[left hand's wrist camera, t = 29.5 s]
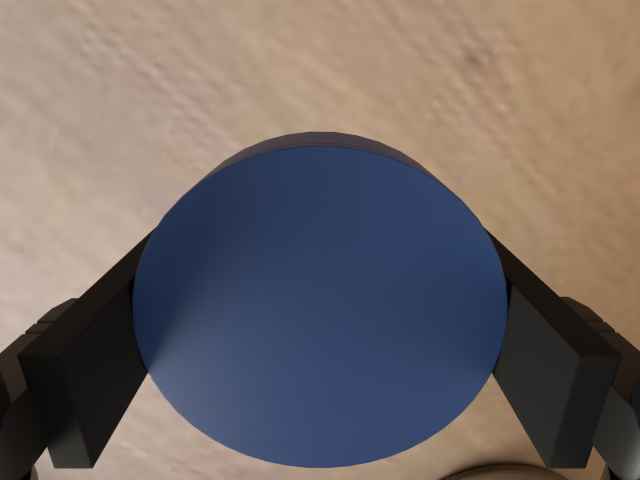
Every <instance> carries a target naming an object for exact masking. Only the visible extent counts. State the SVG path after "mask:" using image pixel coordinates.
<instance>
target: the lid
mask: <svg viewBox="0 0 640 480" xmlns="http://www.w3.org/2000/svg"><path fill="white" fill-rule="evenodd" d="M507 314H508V298H507V288H506V280H505V276H504V273H503V269H502V265H501V261H500V258H499V256H498V254H497V252H496V249H495V247H494V245H493V242H492V240H491V238H490V237H489V235H488V234H487V232H486V230H485V229H484V227H483V226H482V224H481V223H480V221H479V219H478V218H477V217H476V216H475V215H474V214H473V212H472V211H471V210H470V209H469V208H468V207H467V206H466V204H465V203H464V202H463V201H462V200H461V199H460V198H459V197H458V196H456V195H455V194H454V193H453V192H452V191H451V190H449V189H448V188H447V187H446V186H445V185H444V184H443V183H441V182H440V181H439V180H438V179H437V178H436V177H435V176H433V175H432V174H431V173H430V172H429V171H427V170H426V169H425V168H424V167H423V166H422V165H420V164H419V163H418V162H416V161H415V160H413V159H411V158H410V157H408V156H407V155H405V154H403V153H402V152H400V151H398V150H396V149H394V148H392V147H389V146H387V145H385V144H383V143H380V142H378V141H374V140H371V139H367V138H364V137H361V136H357V135H350V134H344V133H337V132H304V133H296V134H288V135H284V136H280V137H276V138H272V139H269V140H265V141H263V142H260V143H258V144H255V145H253V146H250V147H248V148H246V149H244V150H242V151H240V152H238V153H237V154H235V155H233V156H232V157H230V158H228V159H227V160H225V161H224V162H222V163H221V164H220V165H219V166H217V167H216V168H215V169H214V170H212V171H211V172H210V173H209V174H207V175H206V176H205V177H204V178H203V179H202V180H201V181H199V182H198V183H197V184H196V185H195V186H194V187H192V188H191V189H190V190H189V191H188V192H187V193H186V194H184V195H183V196H182V197H181V198H180V199H179V200H178V201H177V203H176V204H175V205H174V206H173V207H172V208H171V209H170V210H169V211H168V212H167V213H166V214H165V216H164V217H163V218H162V220H161V221H160V223H159V224H158V226H157V227H156V229H155V230H154V232H153V233H152V235H151V236H150V239H149V241H148V243H147V245H146V247H145V249H144V251H143V253H142V255H141V258H140V262H139V265H138V269H137V272H136V276H135V280H134V288H133V296H132V316H133V325H134V330H135V335H136V340H137V345H138V348H139V351H140V354H141V357H142V360H143V363H144V365H145V366H146V368H147V370H148V372H149V374H150V376H151V378H152V380H153V382H154V383H155V385H156V386H157V388H158V389H159V390H160V392H161V393H162V395H163V396H164V398H165V399H166V400H167V401H168V402H169V403H170V404H171V405H172V406H173V408H174V409H175V410H176V411H177V412H178V413H179V414H180V415H181V416H182V417H184V418H185V419H186V420H187V421H188V422H189V423H190V424H192V425H193V426H194V427H195V428H197V429H198V430H200V431H201V432H203V433H204V434H206V435H207V436H208V437H210V438H212V439H213V440H215V441H217V442H219V443H221V444H223V445H224V446H226V447H228V448H231V449H233V450H235V451H238V452H240V453H242V454H245V455H247V456H251V457H254V458H257V459H260V460H264V461H267V462H272V463H277V464H282V465H287V466H297V467H306V468H332V467H344V466H352V465H357V464H363V463H368V462H372V461H376V460H379V459H383V458H386V457H390V456H392V455H395V454H397V453H400V452H402V451H405V450H407V449H409V448H411V447H413V446H415V445H417V444H419V443H421V442H423V441H425V440H427V439H428V438H430V437H431V436H433V435H434V434H436V433H437V432H439V431H440V430H442V429H443V428H445V427H446V426H447V425H448V424H449V423H450V422H452V421H453V420H454V419H455V418H456V417H458V416H459V415H460V414H461V413H462V412H463V411H464V410H465V409H466V407H467V406H468V405H469V404H470V403H471V402H472V401H473V400H474V399H475V397H476V396H477V394H478V393H479V392H480V390H481V389H482V388H483V386H484V385H485V383H486V382H487V380H488V378H489V376H490V374H491V372H492V370H493V369H494V367H495V365H496V362H497V359H498V357H499V354H500V351H501V348H502V344H503V339H504V334H505V329H506V323H507Z"/></svg>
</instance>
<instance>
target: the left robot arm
mask: <svg viewBox="0 0 640 480" xmlns="http://www.w3.org/2000/svg"><path fill="white" fill-rule="evenodd" d="M155 229H156V228H155ZM155 229H154V230H155ZM484 229H485V228H484ZM154 230H152V231H151V232H150V233H149V234H148V235H147V236H146V237H145V238H144V239H143V240H142V241H140V242H139V243H138V244H137V245H136V246H135V247H134V248H133V249H132V250H131V251H130V252H128V253H127V254H126V255H125V256H124V257H123V258H122V259H121V260H120V261H119V262H118V263H117V264H115V265H114V266H113V267H112V268H111V269H110V270H109V271H108V272H107V273H106V274H105V275H103V276H102V277H101V278H100V279H99V280H98V281H97V282H96V283H95V284H94V285H93V286H92V287H90V288H89V289H88V290H87V291H86V292H85V293H84V294H83V295H82V296H81V297H80V298H71V299H69V300H68V301H66V302H64V303H62V304H60V305H58V306H56V307H54V308H52V309H51V310H50V311H48V312H47V313H46V314H45V315H44V316H43V317H42V318H40V319H39V320H38V321H37V324H33V325H32V326H31V327H30V328H29V329H28V330H27V331H25V334H22V335H21V336H20V337H18V338H17V339H16V340H15V341H14V342H13V343H12V344H10V345H9V346H8V347H7V348H6V349H5V350H3V351H2V352H1V353H0V480H38V475H37V471H36V468H35V466H34V464H35V463H36V461H37V460H38V458H39V457H40V456H41V454H42V453H43V452H44V450H45V449H46V448H48V451H49V454H50V457H51V460H52V463H53V466H54V468H93V467H94V465H95V463H96V461H97V460H98V458H99V456H100V455H101V453H102V451H103V449H104V448H105V446H106V444H107V443H108V441H109V439H110V437H111V436H112V434H113V432H114V430H115V429H116V427H117V425H118V424H119V422H120V420H121V418H122V417H123V415H124V413H125V411H126V410H127V408H128V406H129V405H130V403H131V401H132V399H133V398H134V396H135V394H136V393H137V391H138V389H139V387H140V386H141V384H142V382H143V380H144V379H145V377H146V375H147V374H148V370H147V368H146V366H145V365H144V363H143V360H142V357H141V354H140V351H139V348H138V345H137V340H136V335H135V330H134V325H133V316H132V296H133V288H134V280H135V276H136V272H137V269H138V265H139V262H140V258H141V255H142V253H143V251H144V249H145V247H146V245H147V243H148V241H149V239H150V236H151V235H152V233H153V232H154ZM485 230H486V229H485ZM486 232H487V234H488V235H489V237H490V238H491V240H492V242H493V245H494V247H495V249H496V252H497V254H498V256H499V258H500V261H501V265H502V269H503V273H504V276H505V280H506V288H507V298H508V314H507V323H506V329H505V334H504V339H503V344H502V348H501V351H500V354H499V357H498V359H497V362H496V365H495V367H494V369H493V370H492V374H493V376H494V377H495V379H496V381H497V383H498V384H499V386H500V388H501V390H502V391H503V393H504V395H505V396H506V398H507V400H508V402H509V403H510V405H511V407H512V408H513V410H514V412H515V414H516V415H517V417H518V419H519V421H520V422H521V424H522V426H523V427H524V429H525V431H526V433H527V434H528V436H529V438H530V440H531V441H532V443H533V445H534V446H535V448H536V450H537V452H538V453H539V455H540V457H541V458H542V460H543V462H544V464H545V465H546V467H547V468H586V465H587V462H588V459H589V456H590V453H591V450H592V447H593V446H594V447H595V448H596V450H597V451H598V452H599V454H600V455H601V456H602V458H603V459H604V461H605V462H606V466H605V468H604V471H603V474H602V477H601V480H640V351H639V350H638V349H636V348H635V347H634V346H633V345H632V344H631V343H629V342H628V341H627V340H626V339H625V338H624V337H622V336H621V335H620V334H619V333H615V330H614V329H613V328H612V327H611V326H610V325H608V324H607V323H606V322H603V319H601V318H600V317H599V316H598V315H597V314H596V313H595V312H593V311H592V310H591V309H590V308H589V307H587V306H585V305H583V304H581V303H579V302H577V301H575V300H573V299H571V298H570V297H559V296H558V295H557V294H556V293H555V292H554V291H553V290H551V289H550V288H549V287H548V286H547V285H546V284H545V283H544V282H543V281H542V280H541V279H539V278H538V277H537V276H536V275H535V274H534V273H533V272H532V271H531V270H530V269H529V268H528V267H526V266H525V265H524V264H523V263H522V262H521V261H520V260H519V259H518V258H517V257H516V256H514V255H513V254H512V253H511V252H510V251H509V250H508V249H507V248H506V247H505V246H504V245H503V244H501V243H500V242H499V241H498V240H497V239H496V238H495V237H494V236H493V235H492V234H491V233H489V232H488V231H487V230H486ZM445 480H567V479H565V478H563V477H562V476H560V475H557V474H555V473H553V472H550V471H547V470H544V469H540V468H536V467H531V466H523V465H494V466H487V467H481V468H476V469H472V470H469V471H465V472H462V473H459V474H457V475H454V476H452V477H449V478H447V479H445Z"/></svg>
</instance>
